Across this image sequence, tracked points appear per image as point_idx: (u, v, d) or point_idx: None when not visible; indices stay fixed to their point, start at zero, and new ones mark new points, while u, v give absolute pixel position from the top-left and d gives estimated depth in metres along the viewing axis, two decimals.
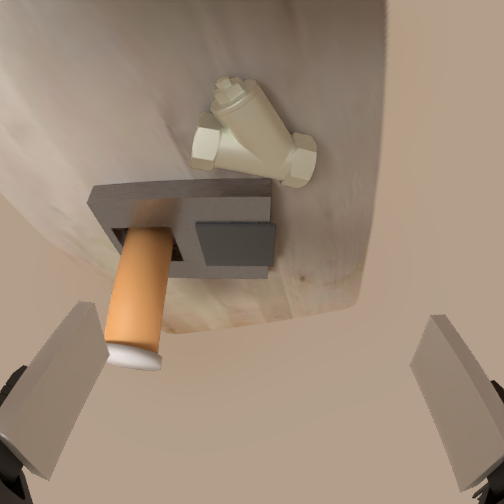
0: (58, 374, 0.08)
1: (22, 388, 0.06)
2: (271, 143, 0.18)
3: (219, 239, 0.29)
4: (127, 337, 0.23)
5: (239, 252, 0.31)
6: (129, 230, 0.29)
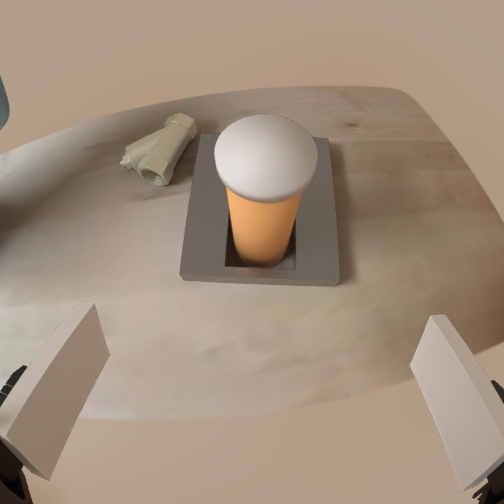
0: (58, 374, 0.08)
1: (22, 388, 0.06)
2: (153, 133, 0.31)
3: None
4: None
5: None
6: (239, 253, 0.28)
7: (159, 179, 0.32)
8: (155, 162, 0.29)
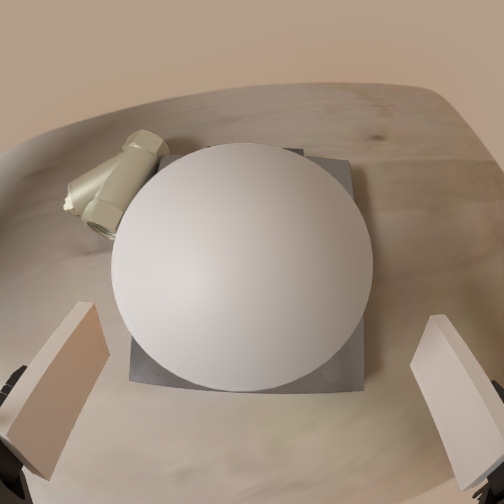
0: (58, 374, 0.08)
1: (22, 388, 0.06)
2: (105, 162, 0.21)
3: None
4: None
5: None
6: None
7: None
8: (104, 212, 0.19)
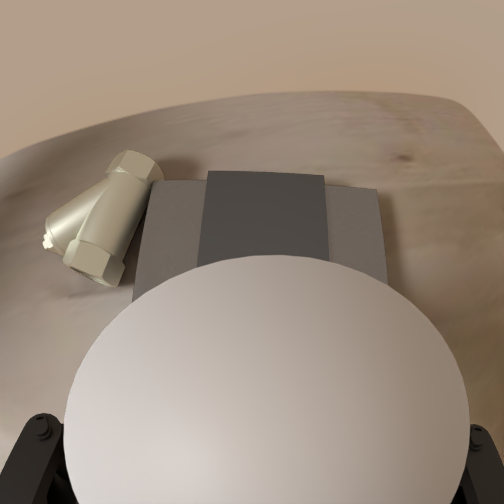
0: None
1: None
2: (86, 191, 0.17)
3: (235, 249, 0.17)
4: None
5: (279, 222, 0.17)
6: None
7: None
8: (87, 255, 0.15)
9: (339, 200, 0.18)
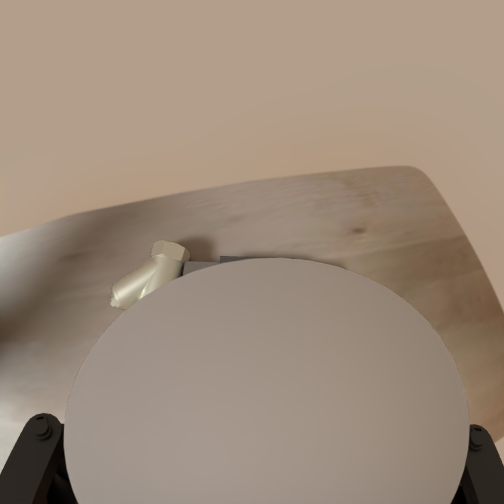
0: None
1: None
2: (140, 269, 0.28)
3: None
4: None
5: None
6: None
7: None
8: None
9: None
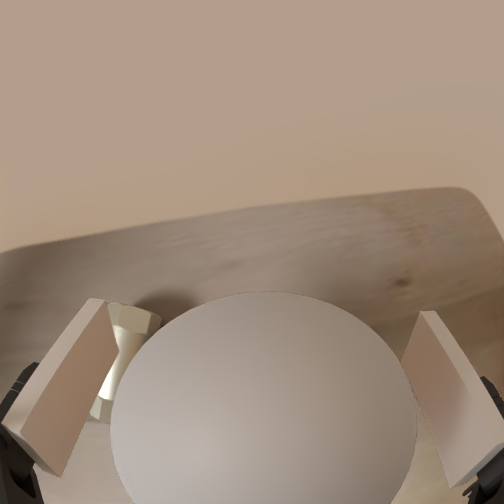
0: (70, 370, 0.08)
1: (35, 384, 0.07)
2: None
3: None
4: None
5: None
6: None
7: None
8: None
9: None
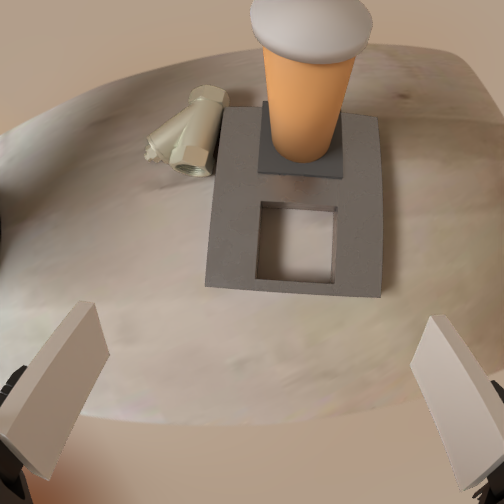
0: (58, 374, 0.08)
1: (22, 388, 0.06)
2: (178, 115, 0.25)
3: None
4: None
5: None
6: (277, 144, 0.23)
7: (197, 168, 0.28)
8: (192, 154, 0.24)
9: (351, 123, 0.25)
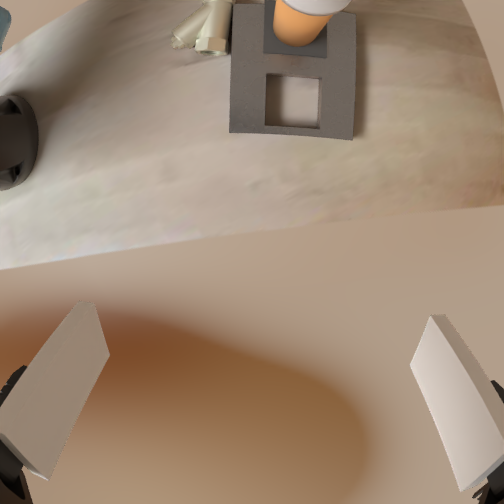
0: (58, 374, 0.08)
1: (22, 388, 0.06)
2: (197, 13, 0.26)
3: None
4: None
5: None
6: (279, 35, 0.27)
7: None
8: (214, 43, 0.28)
9: (334, 17, 0.27)
